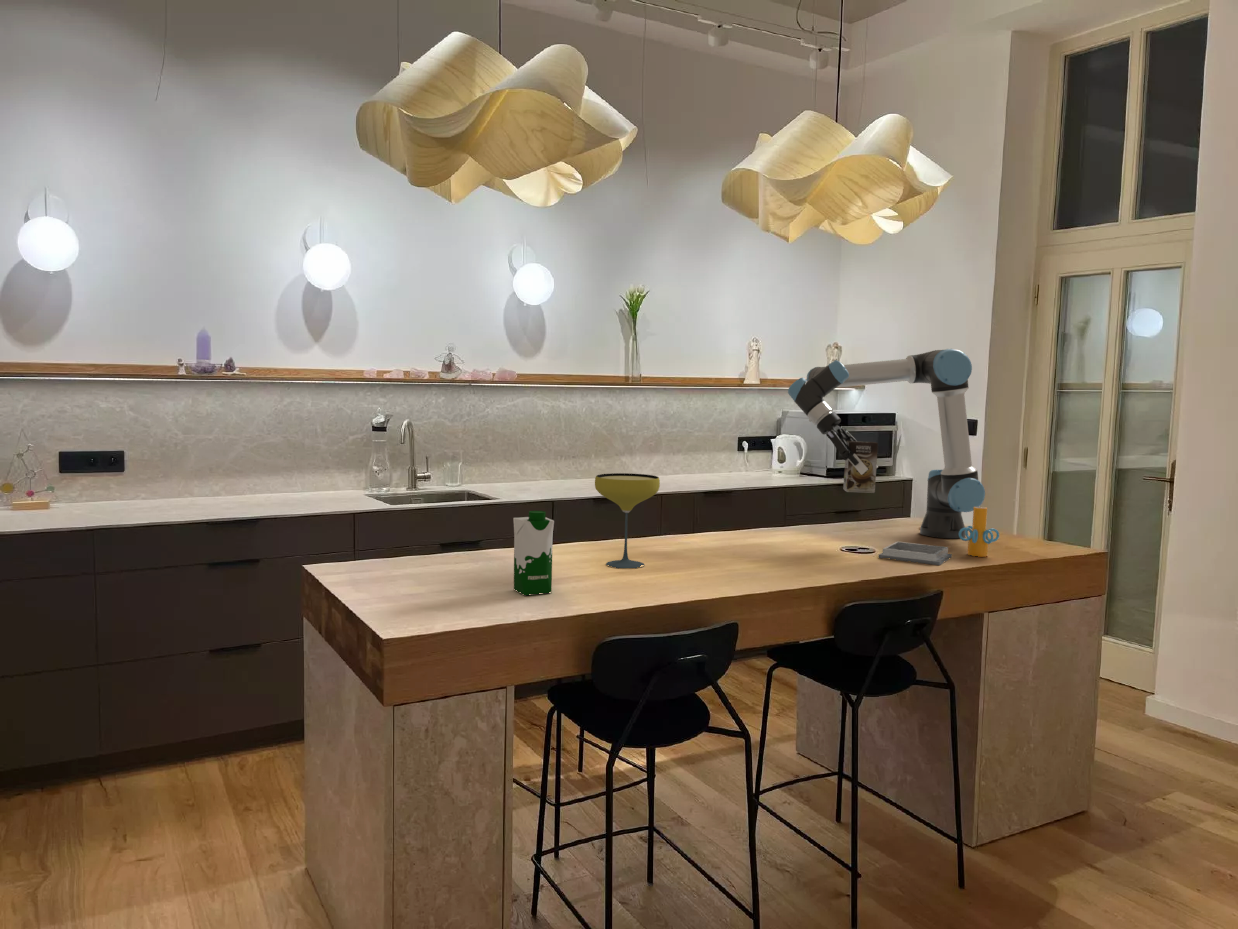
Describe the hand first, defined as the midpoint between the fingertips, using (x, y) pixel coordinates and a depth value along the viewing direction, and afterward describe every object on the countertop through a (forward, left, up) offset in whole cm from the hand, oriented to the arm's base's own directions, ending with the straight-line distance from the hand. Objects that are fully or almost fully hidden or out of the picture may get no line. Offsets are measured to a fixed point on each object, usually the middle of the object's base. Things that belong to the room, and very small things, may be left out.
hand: (869, 470), depth 298 cm
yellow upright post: (-8, +33, -25) cm, 42 cm away
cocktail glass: (+73, -46, -25) cm, 90 cm away
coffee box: (0, -3, -7) cm, 8 cm away
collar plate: (+8, +18, -25) cm, 31 cm away
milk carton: (+115, -47, -25) cm, 127 cm away
